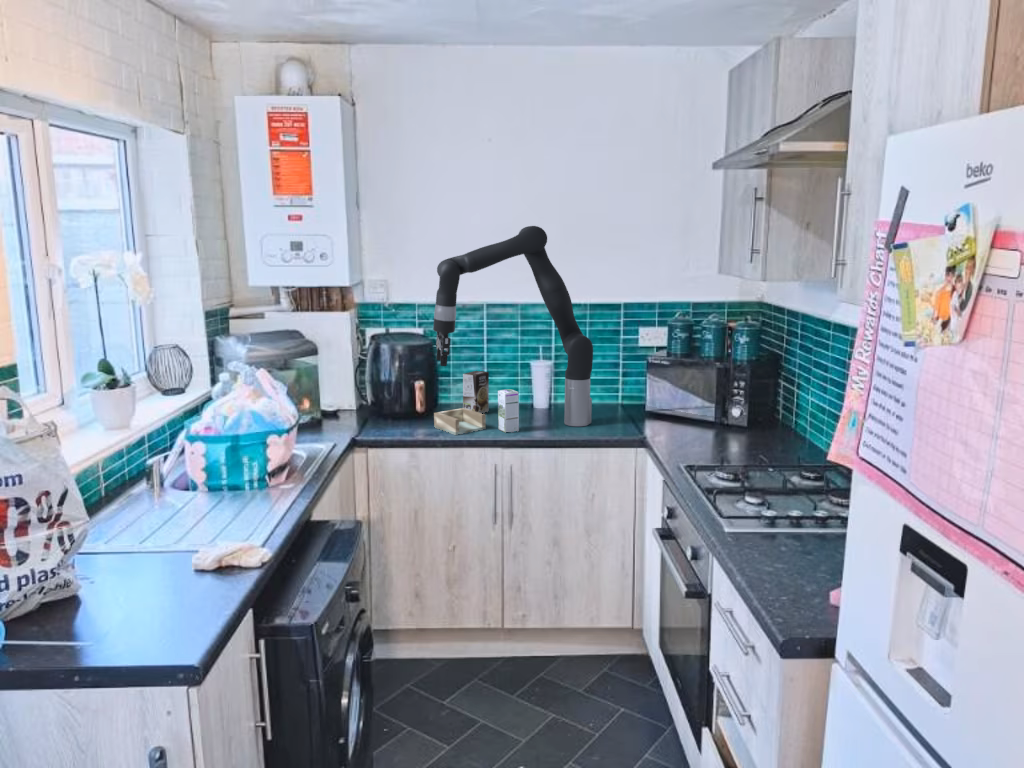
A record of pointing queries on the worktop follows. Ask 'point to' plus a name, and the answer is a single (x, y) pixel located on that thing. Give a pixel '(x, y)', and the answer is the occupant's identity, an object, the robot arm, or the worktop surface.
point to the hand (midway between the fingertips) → (441, 363)
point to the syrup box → (508, 410)
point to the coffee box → (476, 391)
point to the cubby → (459, 421)
